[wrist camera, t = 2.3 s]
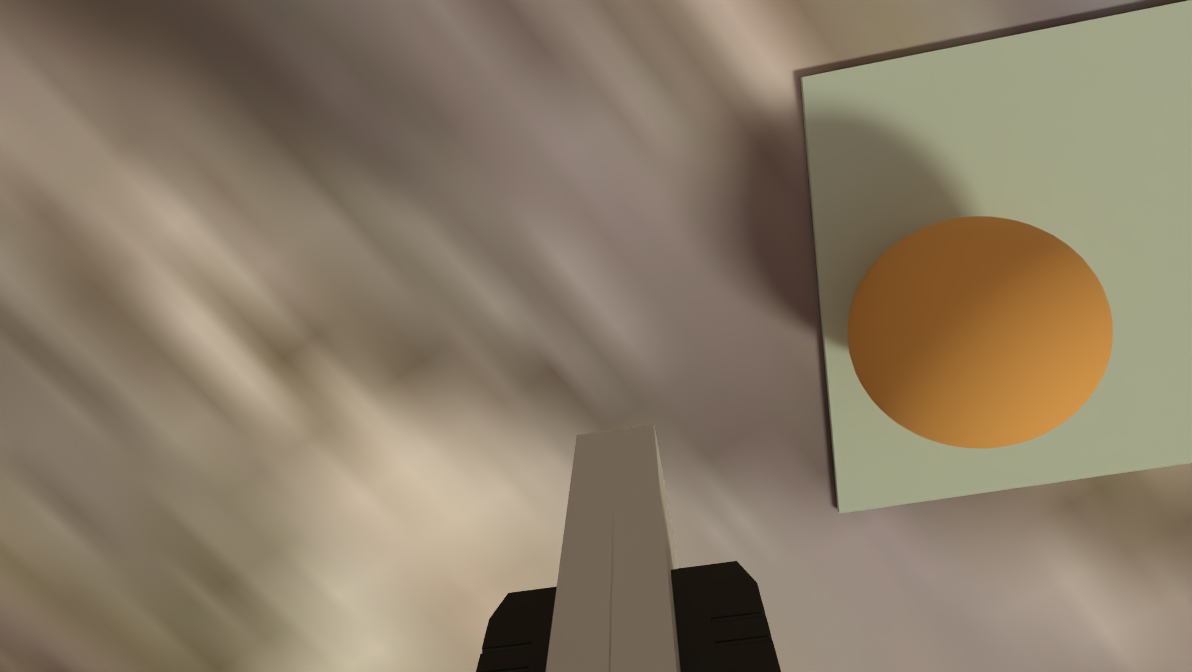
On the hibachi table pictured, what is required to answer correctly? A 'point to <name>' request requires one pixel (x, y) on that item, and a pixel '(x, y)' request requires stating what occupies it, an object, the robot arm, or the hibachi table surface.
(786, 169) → the hibachi table surface
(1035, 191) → the pale green board
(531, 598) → the robot arm
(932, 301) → the ball
